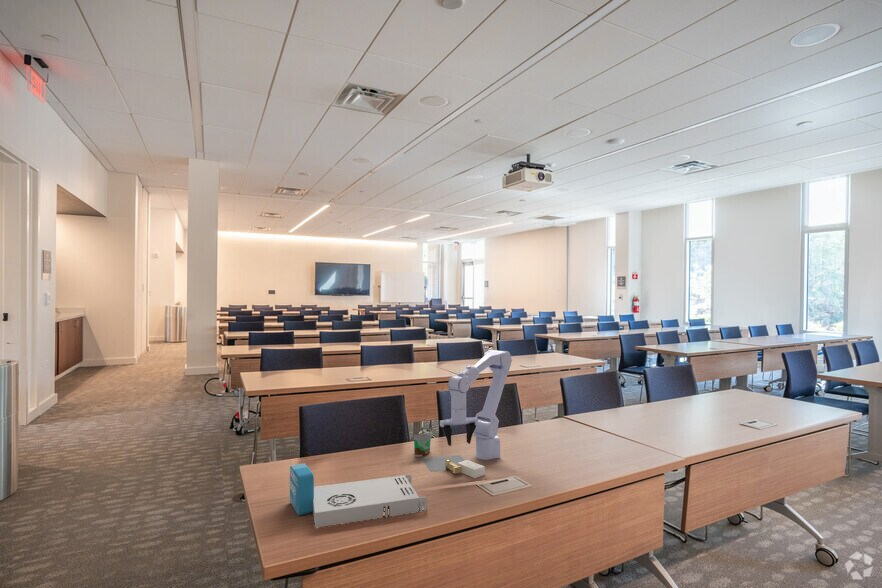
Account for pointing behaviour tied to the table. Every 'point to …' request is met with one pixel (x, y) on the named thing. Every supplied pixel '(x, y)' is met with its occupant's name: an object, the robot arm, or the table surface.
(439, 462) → the base plate
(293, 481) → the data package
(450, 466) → the brass T-key
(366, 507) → the power supply unit
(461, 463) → the white rectangular block
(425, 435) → the food container
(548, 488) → the table surface
